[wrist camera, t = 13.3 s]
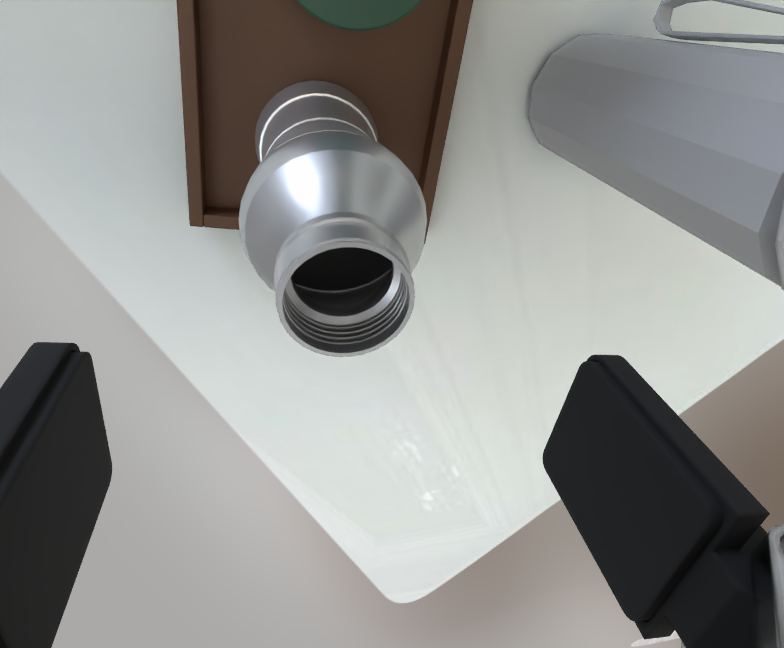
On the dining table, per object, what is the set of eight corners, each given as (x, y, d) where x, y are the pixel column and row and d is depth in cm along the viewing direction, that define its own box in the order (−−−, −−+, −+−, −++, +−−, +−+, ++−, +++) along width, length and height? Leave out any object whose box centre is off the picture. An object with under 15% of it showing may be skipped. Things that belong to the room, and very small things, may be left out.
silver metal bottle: (248, 76, 28) (184, 194, 11) (370, 71, 29) (478, 173, 12) (266, 192, 31) (238, 410, 15) (375, 184, 32) (462, 382, 16)
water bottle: (605, 166, 35) (1067, 416, 14) (501, 142, 33) (863, 391, 12) (673, 14, 30) (1505, 47, 10) (558, -26, 28) (1299, -93, 7)
